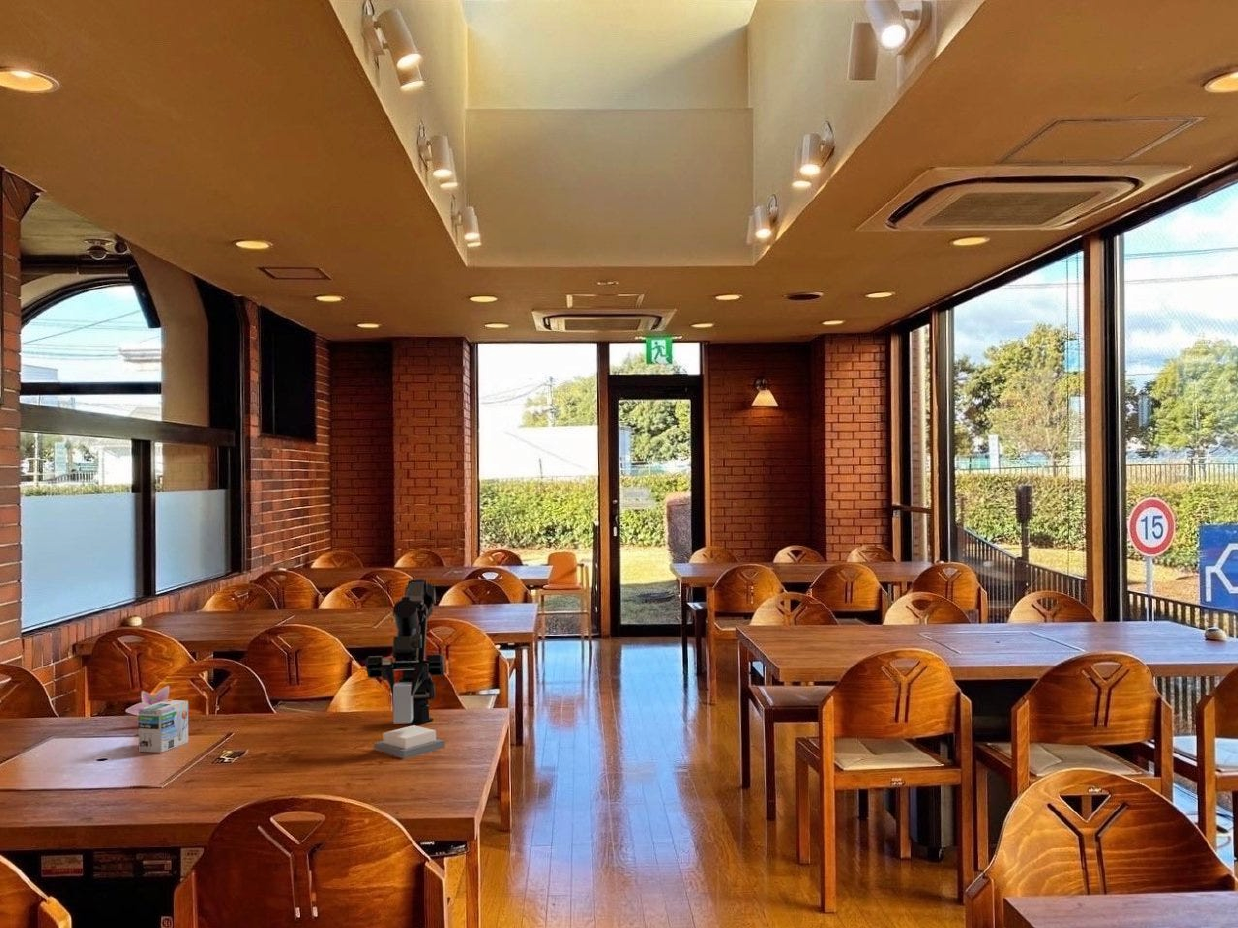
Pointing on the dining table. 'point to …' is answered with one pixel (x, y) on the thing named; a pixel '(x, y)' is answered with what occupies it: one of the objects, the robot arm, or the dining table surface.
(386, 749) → the square tray
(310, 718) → the dining table surface
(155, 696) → the lily
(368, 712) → the dining table surface
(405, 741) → the off-white top slab
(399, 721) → the slate block
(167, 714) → the light bulb box
